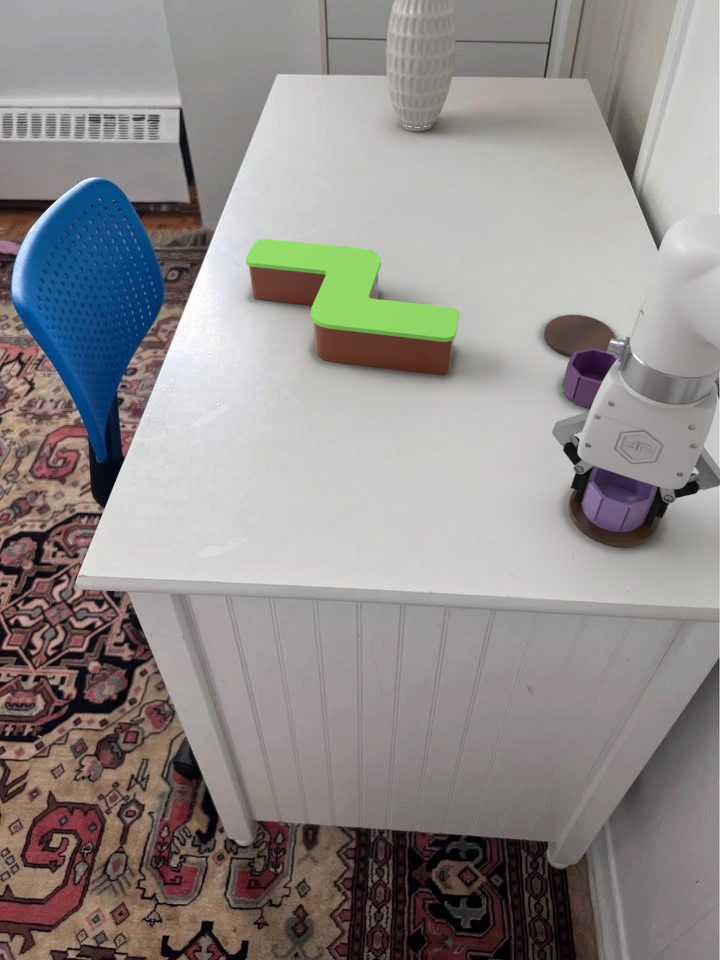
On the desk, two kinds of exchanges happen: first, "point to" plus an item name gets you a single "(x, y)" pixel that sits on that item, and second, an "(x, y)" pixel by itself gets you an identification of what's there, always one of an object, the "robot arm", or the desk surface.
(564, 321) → the coaster far
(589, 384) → the dish plum
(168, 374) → the desk surface
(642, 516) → the dish lilac
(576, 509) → the coaster near
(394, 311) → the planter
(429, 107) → the vase
